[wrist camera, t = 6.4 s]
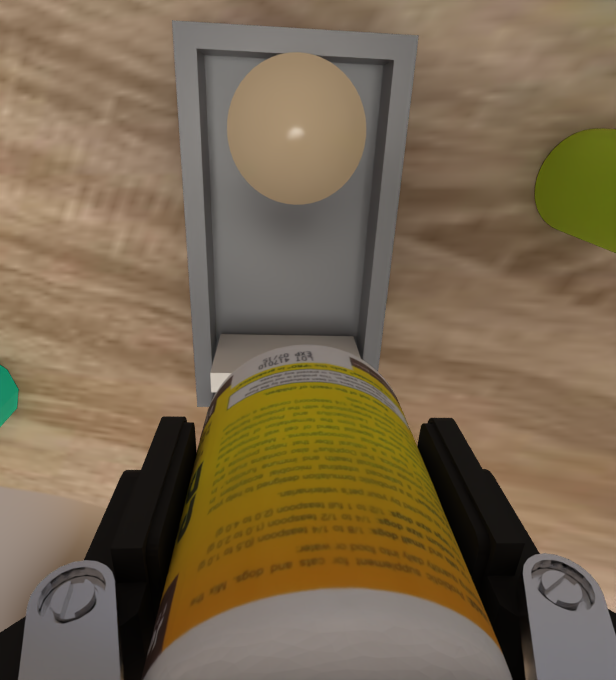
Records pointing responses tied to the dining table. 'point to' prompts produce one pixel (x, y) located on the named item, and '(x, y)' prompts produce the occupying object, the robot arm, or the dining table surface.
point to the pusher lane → (279, 218)
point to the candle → (7, 395)
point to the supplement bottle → (315, 539)
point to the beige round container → (296, 128)
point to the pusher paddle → (264, 350)
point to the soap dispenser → (581, 187)
